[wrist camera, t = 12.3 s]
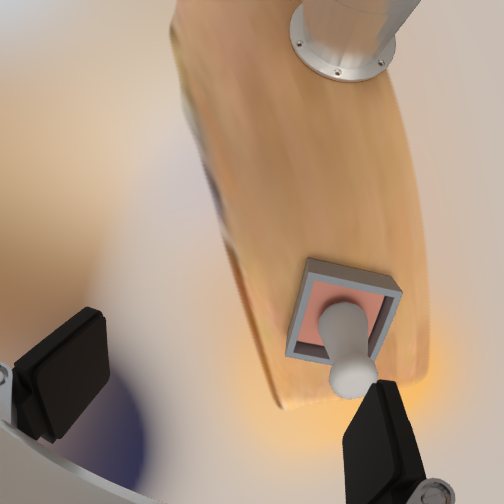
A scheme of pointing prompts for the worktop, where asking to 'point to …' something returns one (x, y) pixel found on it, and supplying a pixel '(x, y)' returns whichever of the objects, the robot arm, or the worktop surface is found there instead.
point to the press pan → (330, 295)
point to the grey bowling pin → (347, 349)
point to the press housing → (350, 280)
